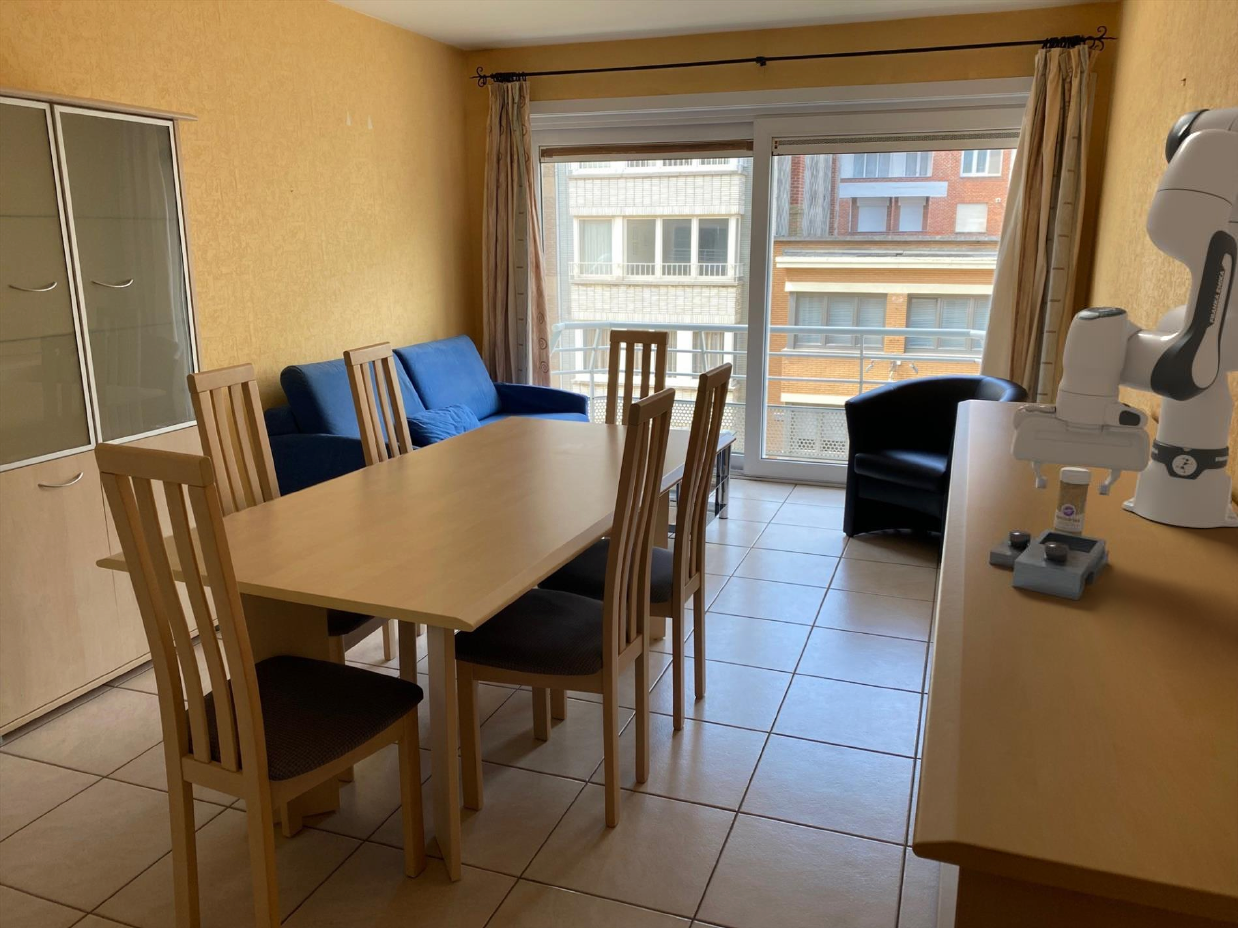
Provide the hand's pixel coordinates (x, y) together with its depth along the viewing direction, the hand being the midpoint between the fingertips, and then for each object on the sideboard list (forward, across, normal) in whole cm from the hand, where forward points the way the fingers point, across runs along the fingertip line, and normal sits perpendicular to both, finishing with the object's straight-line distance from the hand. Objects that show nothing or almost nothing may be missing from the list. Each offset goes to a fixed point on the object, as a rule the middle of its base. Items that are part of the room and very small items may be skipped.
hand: (1071, 491), depth 150 cm
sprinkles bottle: (+10, +1, 0) cm, 10 cm away
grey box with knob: (+10, -2, -14) cm, 17 cm away
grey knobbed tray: (+10, -3, -9) cm, 14 cm away
